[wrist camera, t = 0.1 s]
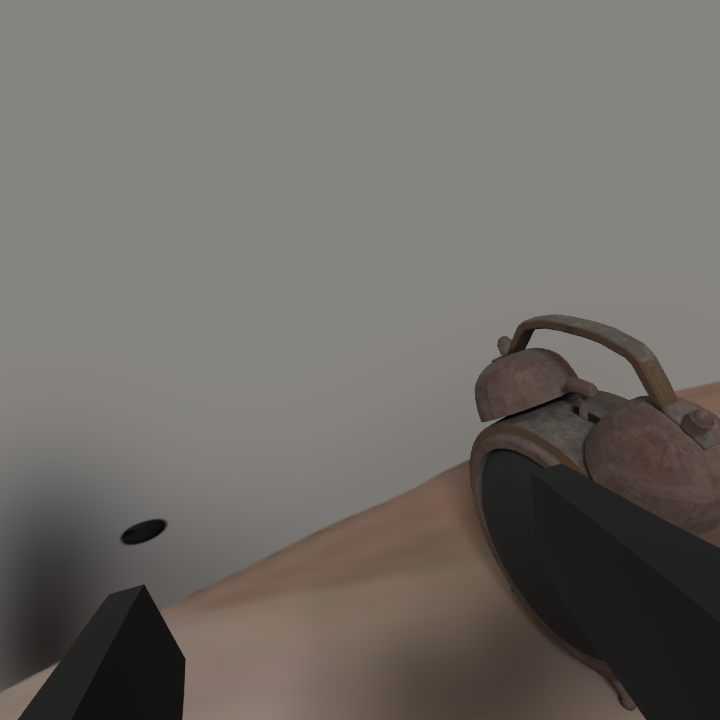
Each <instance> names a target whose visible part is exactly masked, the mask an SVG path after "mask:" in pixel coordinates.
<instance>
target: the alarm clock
mask: <svg viewBox="0 0 720 720" xmlns="http://www.w3.org/2000/svg"><path fill="white" fill-rule="evenodd" d="M544 328H545V329H552V330H558V331H562V332H566V333H569V334H574V335H577V336H581V337H584V338H587V339H590V340H593V341H595V342H598V343H600V344H602V345H604V346H605V347H607V348H609V349H611V350H612V351H614V352H616V353H618V354H619V355H621V356H623V357H625V358H626V359H627V360H628V361H629V362H630V363H631V365H632V366H633V368H634V370H635V372H636V373H637V375H638V377H639V379H640V381H641V382H642V384H643V386H644V388H645V389H646V391H647V393H648V395H649V396H640V397H637V398H634V399H632V400H627V399H625V398H622V397H620V396H617V395H614V394H611V393H608V392H603V391H598V390H597V387H596V386H595V385H594V384H592V383H590V382H587V381H584V380H582V379H579V378H578V376H577V375H576V373H575V372H574V370H573V369H572V368H571V366H570V365H569V364H568V362H567V361H565V359H564V358H563V357H561V356H560V355H559V354H557V353H556V352H553V351H551V350H546V349H543V348H531V349H525V348H526V346H527V344H528V342H529V340H530V338H531V336H532V334H533V332H534V330H535V329H544ZM497 346H498V348H499V351H500V353H501V355H503V356H500V357H498V358H496V359H494V360H492V364H490V365H488V366H487V367H486V368H485V369H484V370H483V372H482V373H481V374H480V376H479V378H478V380H477V382H476V386H475V400H476V405H477V410H478V413H479V416H480V419H481V422H487V421H491V420H495V419H498V418H502V417H504V416H506V417H504V418H502V419H501V420H499V421H497V422H496V423H494V424H492V425H490V426H489V427H487V428H485V429H484V430H483V431H482V432H481V433H480V434H479V435H478V436H477V438H476V440H475V442H474V444H473V447H472V451H471V457H470V478H471V486H472V494H473V500H474V504H475V508H476V512H477V515H478V518H479V521H480V524H481V527H482V530H483V533H484V535H485V537H486V540H487V542H488V545H489V547H490V549H491V551H492V553H493V555H494V557H495V559H496V561H497V563H498V565H499V566H500V568H501V570H502V572H503V573H504V575H505V577H506V578H507V580H508V582H509V583H510V585H511V589H512V592H514V593H516V594H517V595H518V597H519V598H520V600H521V601H522V602H523V604H524V605H525V606H526V607H527V609H528V610H529V611H530V613H531V614H532V615H533V616H534V618H535V619H536V620H537V621H538V622H539V623H540V624H541V626H542V627H543V628H544V629H545V630H546V631H547V632H548V633H549V634H550V635H551V636H552V637H553V638H554V639H555V640H556V641H557V642H558V643H559V644H561V645H562V646H563V647H564V648H565V649H567V650H568V651H569V652H570V653H571V654H572V655H574V656H575V657H576V658H577V659H579V660H580V661H581V662H582V663H584V664H585V665H587V666H588V667H589V668H591V669H593V670H594V671H596V672H597V673H599V674H601V675H603V676H605V677H607V678H609V679H610V680H611V681H612V683H613V685H614V686H615V688H616V689H617V691H618V693H619V694H620V696H621V697H622V698H621V704H622V706H623V707H624V708H625V709H627V710H629V711H632V710H634V709H635V707H636V705H635V703H634V702H633V700H632V699H631V697H630V696H629V695H628V693H627V692H626V690H625V689H624V688H623V686H622V685H621V683H620V682H619V680H618V679H617V678H616V676H615V675H614V673H613V672H612V671H611V669H610V668H609V666H608V665H607V664H606V662H605V661H604V659H603V658H602V656H601V655H600V654H599V652H598V651H597V649H596V648H595V647H594V645H593V644H592V642H591V641H590V639H589V638H588V637H587V635H586V634H585V632H584V631H583V629H582V628H581V627H580V625H579V624H578V622H577V621H576V619H575V618H574V616H573V615H572V614H571V612H570V611H569V609H568V608H567V606H566V605H565V603H564V601H563V600H562V598H561V596H560V594H559V593H558V591H557V589H556V587H555V586H554V584H553V582H552V580H551V578H550V577H549V575H548V573H547V571H546V569H545V567H544V565H543V564H542V562H541V560H540V558H539V556H538V554H537V552H536V539H535V524H534V510H533V495H532V481H531V472H533V471H537V470H540V469H544V468H547V467H550V466H554V465H557V464H561V463H562V464H564V465H566V466H568V467H569V468H571V469H573V470H575V471H577V472H579V473H580V474H582V475H584V476H586V477H588V478H589V479H591V480H593V481H595V482H596V483H598V484H600V485H602V486H604V487H605V488H607V489H609V490H611V491H613V492H614V493H616V494H618V495H620V496H622V497H623V498H625V499H627V500H629V501H631V502H632V503H634V504H636V505H638V506H640V507H642V508H643V509H645V510H647V511H649V512H651V513H653V514H655V515H656V516H658V517H660V518H662V519H664V520H666V521H668V522H670V523H672V524H673V525H675V526H677V527H679V528H681V529H683V530H685V531H687V532H689V533H691V534H693V535H695V536H697V537H699V538H701V539H703V540H705V541H707V542H709V543H711V544H713V545H715V546H717V547H719V548H720V419H719V418H718V417H717V416H716V415H714V414H713V413H711V412H710V411H709V410H706V409H704V408H703V407H701V406H699V405H697V404H694V403H692V402H689V401H686V400H684V399H681V398H677V397H676V395H675V393H674V390H673V388H672V386H671V384H670V382H669V380H668V378H667V376H666V374H665V373H664V371H663V369H662V367H661V365H660V363H659V361H658V360H657V358H656V356H655V355H654V353H653V352H652V351H651V350H650V349H649V348H648V347H647V346H645V344H643V343H642V342H640V341H638V340H637V339H635V338H633V337H631V336H629V335H627V334H625V333H623V332H621V331H619V330H618V329H615V328H614V327H610V326H607V325H604V324H600V323H598V322H595V321H590V320H585V319H580V318H576V317H572V316H565V315H556V314H554V315H546V316H539V317H534V318H531V319H529V320H526V321H524V322H522V323H521V324H520V325H519V326H518V327H517V330H516V332H515V334H514V337H513V339H512V340H510V339H509V338H508V337H506V336H503V337H501V338H499V339H498V345H497Z"/></svg>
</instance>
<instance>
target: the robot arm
mask: <svg viewBox="0 0 720 720" xmlns="http://www.w3.org/2000/svg"><path fill="white" fill-rule="evenodd" d="M531 481H532V495H533V510H534V524H535V539H536V552H537V554H538V556H539V558H540V560H541V562H542V564H543V565H544V567H545V569H546V571H547V573H548V575H549V577H550V578H551V580H552V582H553V584H554V586H555V587H556V589H557V591H558V593H559V594H560V596H561V598H562V600H563V601H564V603H565V605H566V606H567V608H568V609H569V611H570V612H571V614H572V615H573V616H574V618H575V619H576V621H577V622H578V624H579V625H580V627H581V628H582V629H583V631H584V632H585V634H586V635H587V637H588V638H589V639H590V641H591V642H592V644H593V645H594V647H595V648H596V649H597V651H598V652H599V654H600V655H601V656H602V658H603V659H604V661H605V662H606V664H607V665H608V666H609V668H610V669H611V671H612V672H613V673H614V675H615V676H616V678H617V679H618V680H619V682H620V683H621V685H622V686H623V688H624V689H625V690H626V692H627V693H628V695H629V696H630V697H631V699H632V700H633V702H634V703H635V705H636V706H637V707H638V709H639V710H640V712H641V713H642V714H643V716H644V717H645V719H646V720H720V548H719V547H717V546H715V545H713V544H711V543H709V542H707V541H705V540H703V539H701V538H699V537H697V536H695V535H693V534H691V533H689V532H687V531H685V530H683V529H681V528H679V527H677V526H675V525H673V524H672V523H670V522H668V521H666V520H664V519H662V518H660V517H658V516H656V515H655V514H653V513H651V512H649V511H647V510H645V509H643V508H642V507H640V506H638V505H636V504H634V503H632V502H631V501H629V500H627V499H625V498H623V497H622V496H620V495H618V494H616V493H614V492H613V491H611V490H609V489H607V488H605V487H604V486H602V485H600V484H598V483H596V482H595V481H593V480H591V479H589V478H588V477H586V476H584V475H582V474H580V473H579V472H577V471H575V470H573V469H571V468H569V467H568V466H566V465H564V464H562V463H561V464H557V465H554V466H550V467H547V468H544V469H540V470H537V471H533V472H531ZM184 682H185V657H184V656H183V654H182V652H181V650H180V648H179V646H178V645H177V643H176V641H175V639H174V637H173V636H172V634H171V632H170V630H169V628H168V627H167V625H166V623H165V621H164V619H163V618H162V616H161V614H160V612H159V610H158V609H157V607H156V605H155V603H154V601H153V600H152V598H151V596H150V594H149V592H148V590H147V589H146V587H145V585H140V586H137V587H133V588H130V589H127V590H123V591H120V592H116V593H113V594H110V595H109V596H108V597H107V598H106V599H105V601H104V602H103V603H102V605H101V606H100V607H99V609H98V610H97V611H96V613H95V614H94V615H93V617H92V618H91V620H90V621H89V623H88V624H87V625H86V627H85V628H84V629H83V631H82V632H81V633H80V635H79V636H78V638H77V639H76V640H75V642H74V643H73V645H72V646H71V647H70V649H69V650H68V651H67V653H66V654H65V656H64V657H63V658H62V660H61V661H60V663H59V664H58V665H57V667H56V668H55V670H54V671H53V672H52V674H51V675H50V676H49V678H48V679H47V681H46V682H45V683H44V685H43V686H42V687H41V689H40V690H39V691H38V693H37V694H36V695H35V697H34V698H33V700H32V701H31V702H30V704H29V705H28V706H27V708H26V709H25V710H24V712H23V713H22V715H21V716H20V717H19V719H18V720H182V716H183V701H184Z"/></svg>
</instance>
